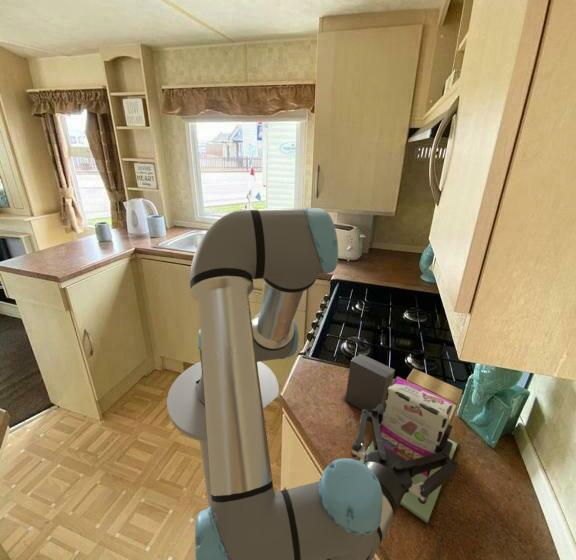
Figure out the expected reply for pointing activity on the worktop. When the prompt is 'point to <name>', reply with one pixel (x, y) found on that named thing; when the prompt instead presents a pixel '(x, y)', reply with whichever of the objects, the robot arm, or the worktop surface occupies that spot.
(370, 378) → the grey box
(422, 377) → the cardboard box
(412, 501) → the sage board
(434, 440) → the candy bar box
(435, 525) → the worktop surface
